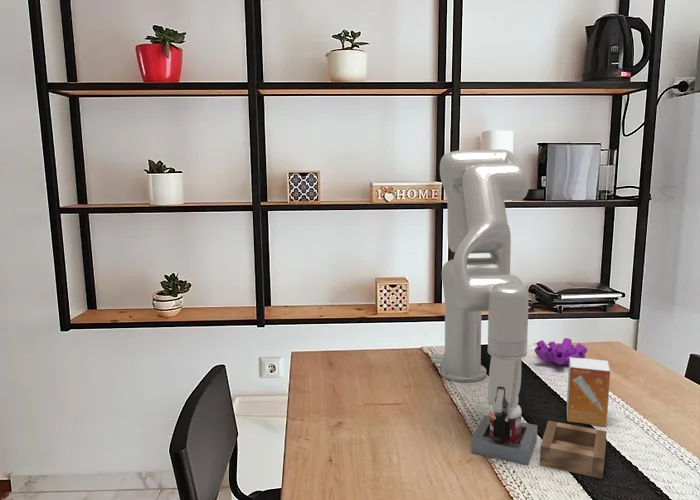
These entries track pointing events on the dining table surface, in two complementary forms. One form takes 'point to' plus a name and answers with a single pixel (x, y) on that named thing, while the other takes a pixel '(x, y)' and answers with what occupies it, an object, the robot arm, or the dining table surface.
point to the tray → (573, 449)
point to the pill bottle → (514, 423)
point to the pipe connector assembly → (560, 351)
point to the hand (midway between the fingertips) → (505, 429)
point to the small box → (588, 391)
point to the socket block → (504, 443)
